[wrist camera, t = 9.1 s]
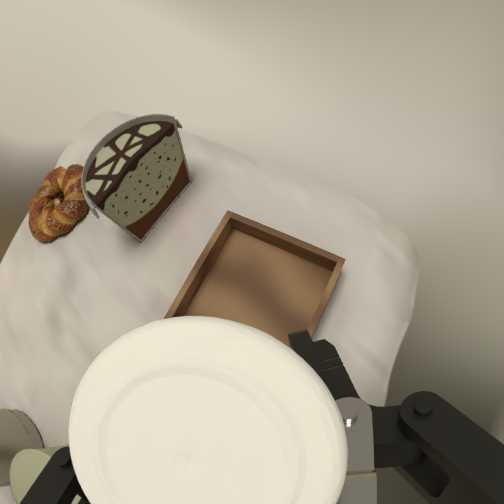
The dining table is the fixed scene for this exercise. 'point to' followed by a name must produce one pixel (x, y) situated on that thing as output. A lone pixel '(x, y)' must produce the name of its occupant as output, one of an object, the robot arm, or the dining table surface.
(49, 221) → the pretzel
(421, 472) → the robot arm
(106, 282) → the dining table surface
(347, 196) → the dining table surface
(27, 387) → the dining table surface
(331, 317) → the dining table surface
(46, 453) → the can
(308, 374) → the sprinkles bottle
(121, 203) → the food container
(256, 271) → the box
